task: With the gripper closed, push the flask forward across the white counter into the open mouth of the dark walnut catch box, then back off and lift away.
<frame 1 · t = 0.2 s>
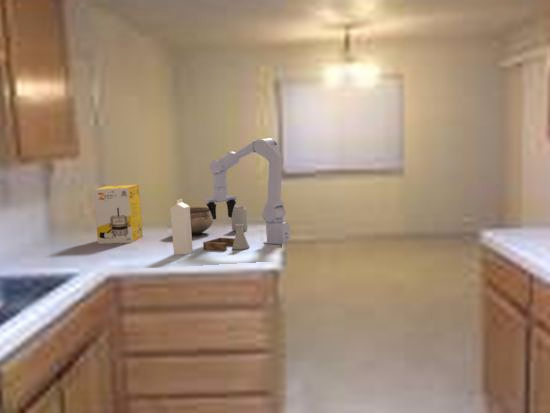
hand: (222, 218, 311), 10 cm above the worktop, tool pointing down, fingers open, 7 cm apart
flask: (240, 249, 290), on the worktop
catch box: (223, 247, 294), on the worktop
milk: (183, 253, 287), on the worktop
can: (239, 231, 339), on the worktop
cooking pot: (193, 234, 336), on the worktop
packaging box: (120, 240, 331), on the worktop
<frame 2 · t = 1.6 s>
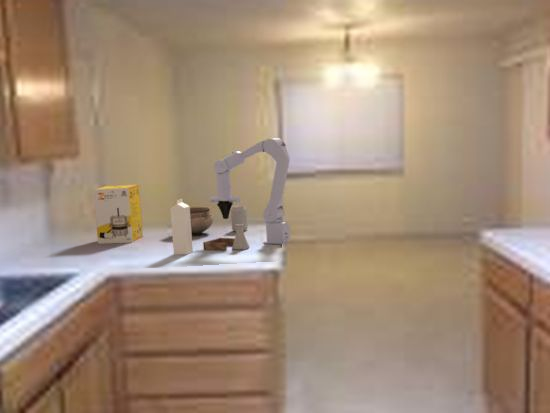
hand: (225, 218, 306), 10 cm above the worktop, tool pointing down, fingers closed
nothing on the worktop moved.
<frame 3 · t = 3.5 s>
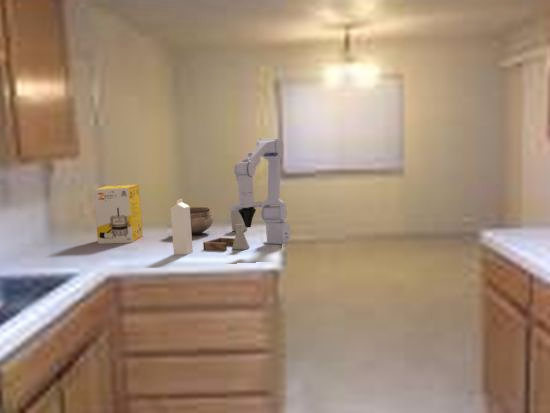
hand: (248, 227, 277), 10 cm above the worktop, tool pointing down, fingers closed
nothing on the worktop moved.
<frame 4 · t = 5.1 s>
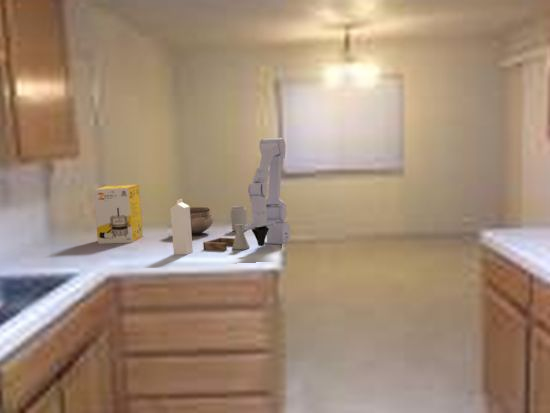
hand: (261, 245, 285), 2 cm above the worktop, tool pointing down, fingers closed
nothing on the worktop moved.
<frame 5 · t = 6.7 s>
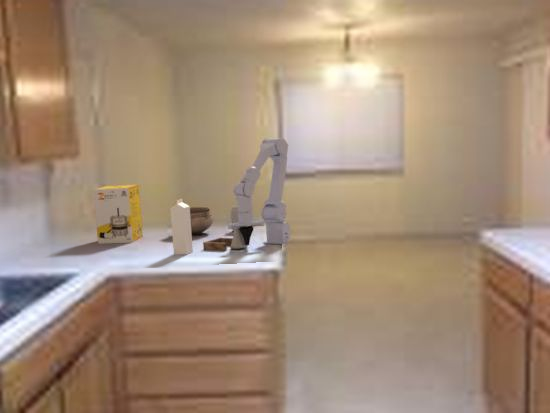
hand: (247, 244, 288), 2 cm above the worktop, tool pointing down, fingers closed
flask: (239, 248, 291), on the worktop, touching gripper
everything else where it was.
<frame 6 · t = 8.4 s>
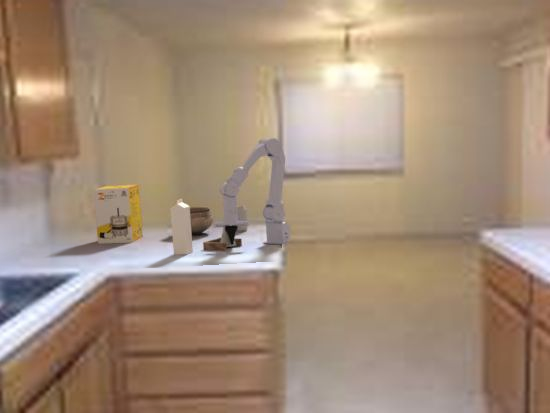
hand: (232, 244, 292), 2 cm above the worktop, tool pointing down, fingers closed
flask: (227, 247, 295), on the worktop, touching catch box, gripper
everything else where it was.
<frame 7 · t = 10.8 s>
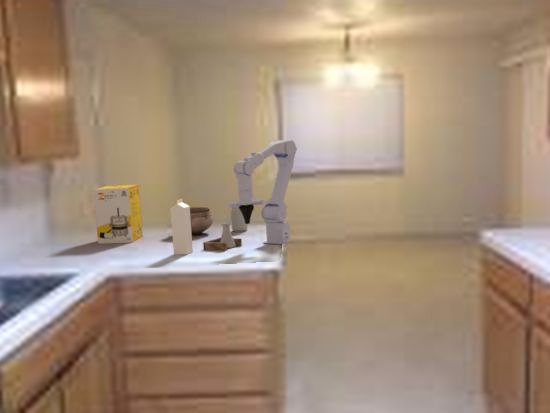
hand: (247, 223, 287), 10 cm above the worktop, tool pointing down, fingers closed
flask: (227, 247, 295), on the worktop
everything else where it was.
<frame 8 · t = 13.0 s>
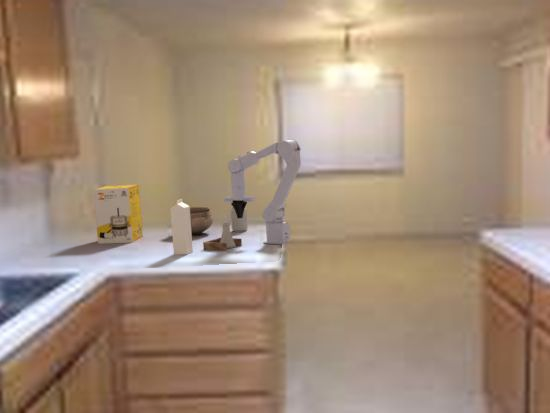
hand: (240, 218, 305), 10 cm above the worktop, tool pointing down, fingers closed
nothing on the worktop moved.
at the end: flask 1.6 cm off-centre on the catch box, point 0.0 cm above the catch box's base; flask tilted 0°; flask moved 7.9 cm from its start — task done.
